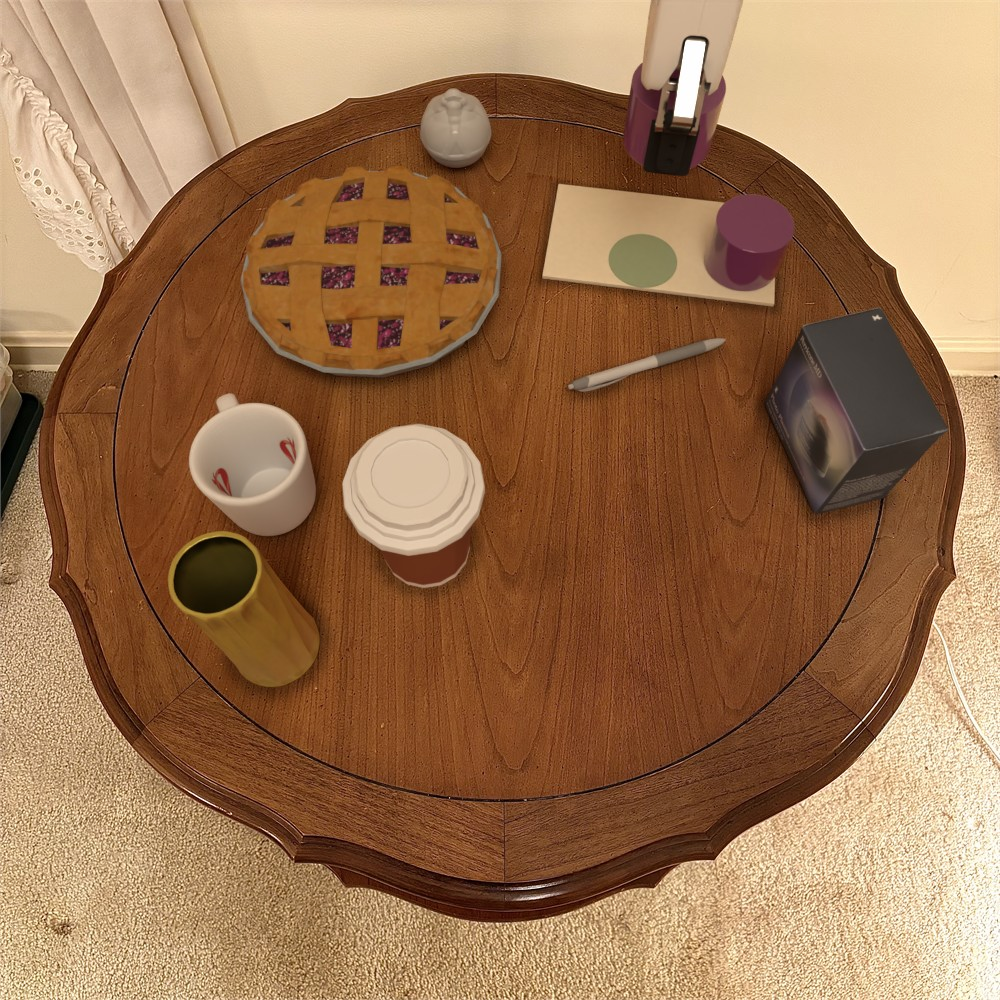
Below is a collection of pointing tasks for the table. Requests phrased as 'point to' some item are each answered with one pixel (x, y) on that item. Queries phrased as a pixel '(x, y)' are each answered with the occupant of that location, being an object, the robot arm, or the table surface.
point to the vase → (244, 608)
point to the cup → (254, 466)
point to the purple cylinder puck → (748, 242)
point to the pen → (643, 365)
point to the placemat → (637, 244)
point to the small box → (851, 410)
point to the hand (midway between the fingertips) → (669, 133)
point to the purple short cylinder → (646, 108)
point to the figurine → (455, 129)
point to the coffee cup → (416, 500)
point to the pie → (371, 272)
